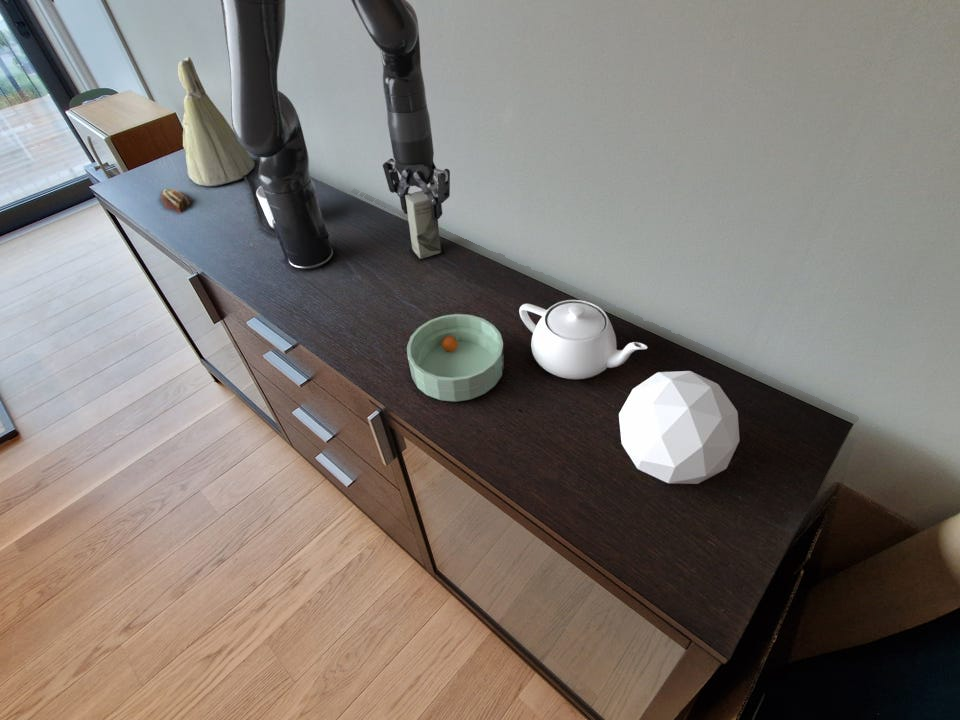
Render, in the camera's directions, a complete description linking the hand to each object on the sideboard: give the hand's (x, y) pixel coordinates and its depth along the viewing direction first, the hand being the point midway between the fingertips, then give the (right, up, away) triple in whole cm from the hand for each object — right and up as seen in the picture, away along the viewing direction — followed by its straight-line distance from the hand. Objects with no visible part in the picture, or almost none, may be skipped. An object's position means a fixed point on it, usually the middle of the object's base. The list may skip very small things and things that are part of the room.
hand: (422, 215), depth 107 cm
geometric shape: (+38, -43, -33) cm, 66 cm away
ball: (+7, -27, -18) cm, 33 cm away
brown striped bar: (-67, +11, +29) cm, 74 cm away
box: (0, -6, +6) cm, 9 cm away
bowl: (+8, -31, -19) cm, 37 cm away
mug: (-32, +5, +19) cm, 38 cm away
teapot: (+28, -30, -19) cm, 45 cm away
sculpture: (-59, +22, +39) cm, 74 cm away
